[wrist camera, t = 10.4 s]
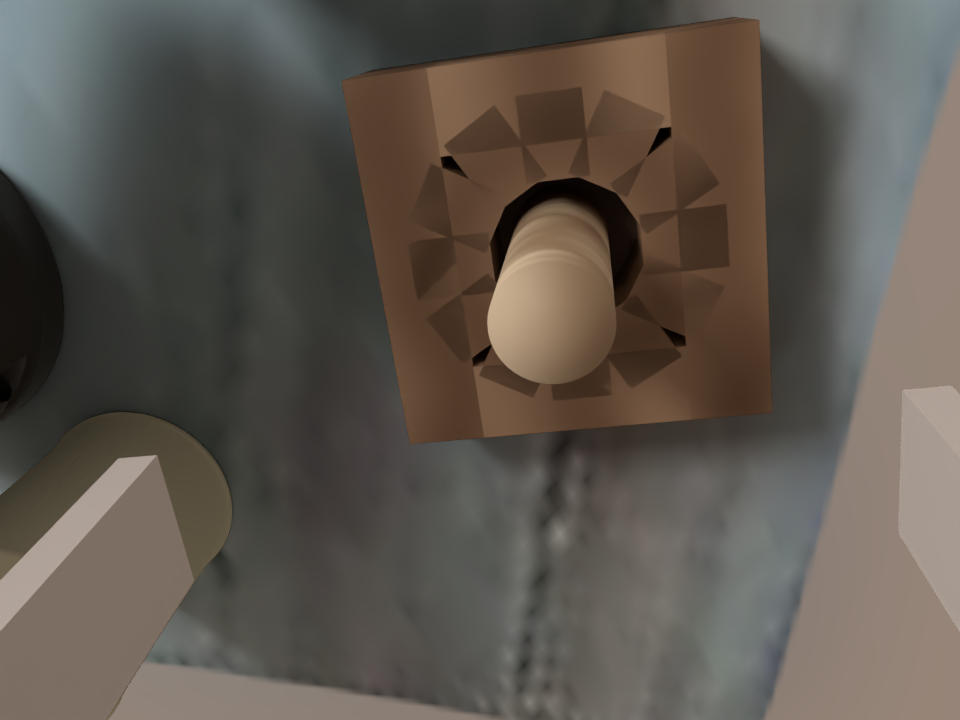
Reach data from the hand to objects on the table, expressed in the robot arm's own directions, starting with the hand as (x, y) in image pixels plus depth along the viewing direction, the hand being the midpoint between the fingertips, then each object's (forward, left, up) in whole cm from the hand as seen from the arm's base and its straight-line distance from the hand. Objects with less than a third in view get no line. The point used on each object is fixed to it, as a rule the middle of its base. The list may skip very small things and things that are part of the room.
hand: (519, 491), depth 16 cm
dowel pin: (0, -1, -22) cm, 22 cm away
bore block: (+1, -1, -23) cm, 23 cm away
